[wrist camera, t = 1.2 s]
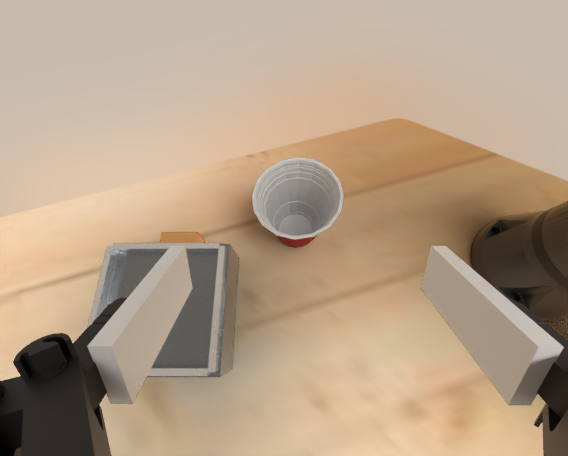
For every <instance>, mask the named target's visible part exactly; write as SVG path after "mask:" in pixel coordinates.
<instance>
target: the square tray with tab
mask: <svg viewBox="0 0 568 456" xmlns="http://www.w3.org/2000/svg"><path fill="white" fill-rule="evenodd" d="M170 246H185V247H186V253H187V259H188V264H189V270H190V276H191V282H192V290H191V292H190V294H189V296H188V298H187V300H186V302H185V304H184V306H183V308H182V310H181V311H180V313H179V315H178V317H177V319H176V321H175V323H174V325H173V327H172V329H171V331H170V333H169V335H168V337H167V338H166V340H165V342H164V344H163V346H162V348H161V350H160V352H159V354H158V356H157V358H156V360H155V362H154V364H153V365H152V367H151V369H150V371H149V373H148V375H147V377H221V376H222V375H224V374H225V373H226V372H228V371H229V370H231V369H232V365H233V348H234V332H235V315H236V299H237V282H238V266H239V257H238V256H237V254H236V253H235V251H234V250H233V248H232V247H231V245H230V244H220V243H204V238H203V237H202V236H201V235H200V234H199V233H198V232H162V234H161V240H160V243H113V246H107V249H106V253H105V257H104V261H103V265H102V269H101V273H100V277H99V281H98V285H97V289H96V293H95V298H94V302H93V306H92V310H91V314H90V318H89V322H88V326H87V328H88V327H89V326H90V325H91V324H92V322H93V321H94V320H95V319H96V318H97V317H99V315H100V313H101V312H102V311H103V310H104V309H105V308H106V307H107V306H108V305H109V304H111V303H112V302H114V301H115V300H117V299H118V298H128V297H129V296H130V294H131V293H132V292H133V291H134V290H135V288H136V287H137V286H138V285H139V284H140V282H141V281H142V280H143V279H144V278H145V276H146V275H147V274H148V273H149V272H150V270H151V269H152V268H153V267H154V266H155V264H156V263H157V262H158V261H159V260H160V258H161V257H162V256H163V255H164V254H165V252H166V251H167V250H168V249H169V248H170Z"/></svg>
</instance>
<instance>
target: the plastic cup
mask: <svg viewBox="0 0 568 456" xmlns="http://www.w3.org/2000/svg"><path fill="white" fill-rule="evenodd" d="M343 199H344V195H343V191H342V187H341V182H340V180H339V179H338V178H337V176H336V175H335V174H334V173H333V171H332V170H331V169H330V168H329V167H327V166H325V165H323V164H322V163H320V162H318V161H317V160H312V159H306V158H301V157H298V158H292V159H285V160H282V161H280V162H278V163H276V164H274V165H272V166H270V167H268V168H267V169H266V171H265V172H264V173H263V174H262V175H261V176H260V177H259V178H258V180H257V182H256V185H255V188H254V190H253V193H252V201H253V211H254V213H255V214H256V216H257V218H258V219H259V221H260V223H261V225H263V226H264V227H265V228H267V229H268V230H270V231H271V232H272V233H274V234H275V235H277V236H278V237H279V238H280V240H281V241H282V242H283V243H285V244H286V245H288V246H291V247H302V246H304V245H306V244H308V243H309V242H310V241H311V240H313V239H314V238H315V237H316V236H317V235H318V234H319V233H321V232H323V231H324V230H326V229H328V228H329V227H330V226H331V225H332V224H333V222H334V221H335V220H336V218H337V217H338V216H339V214H340V212H341V208H342V203H343Z"/></svg>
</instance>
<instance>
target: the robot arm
mask: <svg viewBox="0 0 568 456" xmlns="http://www.w3.org/2000/svg"><path fill="white" fill-rule="evenodd" d="M471 259H472V265H473V269H474V270H473V269H472V268H471V267H470V266H468V265H467V264H466V263H465V262H464V261H463V260H461V259H460V258H459V257H458V256H457V255H456V254H454V253H453V252H452V251H451V250H450V249H449V248H447V247H446V246H431V248H430V252H429V256H428V260H427V264H426V268H425V272H424V276H423V280H422V284H421V290H422V291H423V292H424V294H425V295H426V296H427V298H428V299H429V300H430V302H431V303H432V304H433V306H434V307H435V308H436V310H437V311H438V312H439V314H440V315H441V316H442V318H443V319H444V320H445V322H446V323H447V324H448V326H449V327H450V328H451V330H452V331H453V332H454V334H455V335H456V336H457V338H458V339H459V340H460V342H461V343H462V344H463V346H464V347H465V348H466V350H467V351H468V352H469V354H470V355H471V356H472V357H473V359H474V360H475V361H476V363H477V364H478V365H479V367H480V368H481V369H482V371H483V372H484V373H485V375H486V376H487V377H488V379H489V380H490V381H491V383H492V384H493V385H494V387H495V388H496V389H497V391H498V392H499V393H500V395H501V396H502V397H503V399H504V400H505V401H506V403H507V404H508V405H531V403H532V402H533V400H534V398H535V397H536V395H537V393H538V394H539V395H540V396H541V398H542V399H543V400H544V401H545V402H546V404H545V406H544V408H543V409H542V411H541V413H540V414H539V416H538V418H537V419H536V421H535V424H534V425H535V426H537V427H539V425H540V424H541V423H543V450H544V456H568V341H567V340H565V339H564V338H563V337H562V336H561V335H559V334H558V333H557V332H556V331H554V330H553V329H552V328H551V327H550V326H548V325H547V324H545V322H544V321H542V320H559V319H565V318H568V201H567V202H564V203H562V204H560V205H558V206H556V207H554V208H551V209H549V210H547V211H541V212H533V213H525V214H517V215H510V216H506V217H503V218H500V219H498V220H496V221H494V222H492V223H490V224H489V225H487V226H485V227H484V228H483V229H482V230H481V231H480V232H479V233H478V234H477V236H476V237H475V239H474V242H473V245H472V251H471ZM191 290H192V282H191V276H190V270H189V264H188V259H187V253H186V247H185V246H170V248H169V249H168V250H167V251H166V252H165V254H164V255H163V256H162V257H161V258H160V260H159V261H158V262H157V263H156V264H155V266H154V267H153V268H152V269H151V270H150V272H149V273H148V274H147V275H146V276H145V278H144V279H143V280H142V281H141V282H140V284H139V285H138V286H137V287H136V288H135V290H134V291H133V292H132V293H131V294H130V296H129V297H128V298H118V299H117V300H115V301H114V302H112V303H111V304H109V305H108V306H107V307H106V308H105V309H104V310H103V311H102V312H101V313H100V315H99V317H97V318H96V319H95V320H94V321H93V322H92V324H91V325H90V326H89V327H88V328H87V329H86V330H85V331H84V332H83V333H82V335H81V336H80V337H79V338H78V339H77V340H76V341H75V342H74V343H72V341H71V339H70V337H69V336H68V335H66V334H63V333H59V334H51V335H48V336H45V337H42V338H40V339H38V340H36V341H34V342H32V343H30V344H29V345H27V346H26V347H25V348H23V349H22V350H21V351H20V352H19V353H18V354H17V355H16V357H15V359H14V362H13V363H14V365H15V367H16V368H17V370H18V372H19V373H20V375H21V376H20V377H16V378H12V379H8V380H4V381H0V456H111V452H110V447H109V443H108V438H107V433H106V428H105V423H104V419H103V414H102V409H101V407H100V405H99V404H100V402H101V401H102V399H103V397H104V396H105V394H106V393H107V396H108V398H109V400H110V403H111V404H133V402H134V400H135V398H136V396H137V394H138V393H139V391H140V389H141V387H142V385H143V383H144V381H145V379H146V377H147V375H148V373H149V371H150V369H151V367H152V365H153V364H154V362H155V360H156V358H157V356H158V354H159V352H160V350H161V348H162V346H163V344H164V342H165V340H166V338H167V337H168V335H169V333H170V331H171V329H172V327H173V325H174V323H175V321H176V319H177V317H178V315H179V313H180V311H181V310H182V308H183V306H184V304H185V302H186V300H187V298H188V296H189V294H190V292H191Z"/></svg>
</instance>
